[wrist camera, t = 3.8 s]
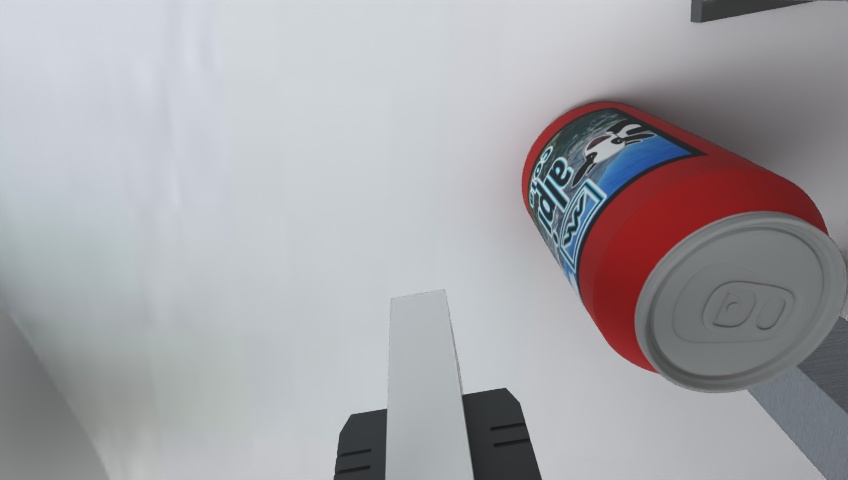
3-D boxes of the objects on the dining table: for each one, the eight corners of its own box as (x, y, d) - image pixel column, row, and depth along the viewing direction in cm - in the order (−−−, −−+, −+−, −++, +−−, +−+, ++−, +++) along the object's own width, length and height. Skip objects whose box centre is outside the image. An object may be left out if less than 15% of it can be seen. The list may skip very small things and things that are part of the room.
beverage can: (538, 85, 23) (669, 168, 12) (683, 111, 24) (930, 211, 13) (501, 227, 26) (581, 400, 15) (632, 246, 26) (800, 423, 15)
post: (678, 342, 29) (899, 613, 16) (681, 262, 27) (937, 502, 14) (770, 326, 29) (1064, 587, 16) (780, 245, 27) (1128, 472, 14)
